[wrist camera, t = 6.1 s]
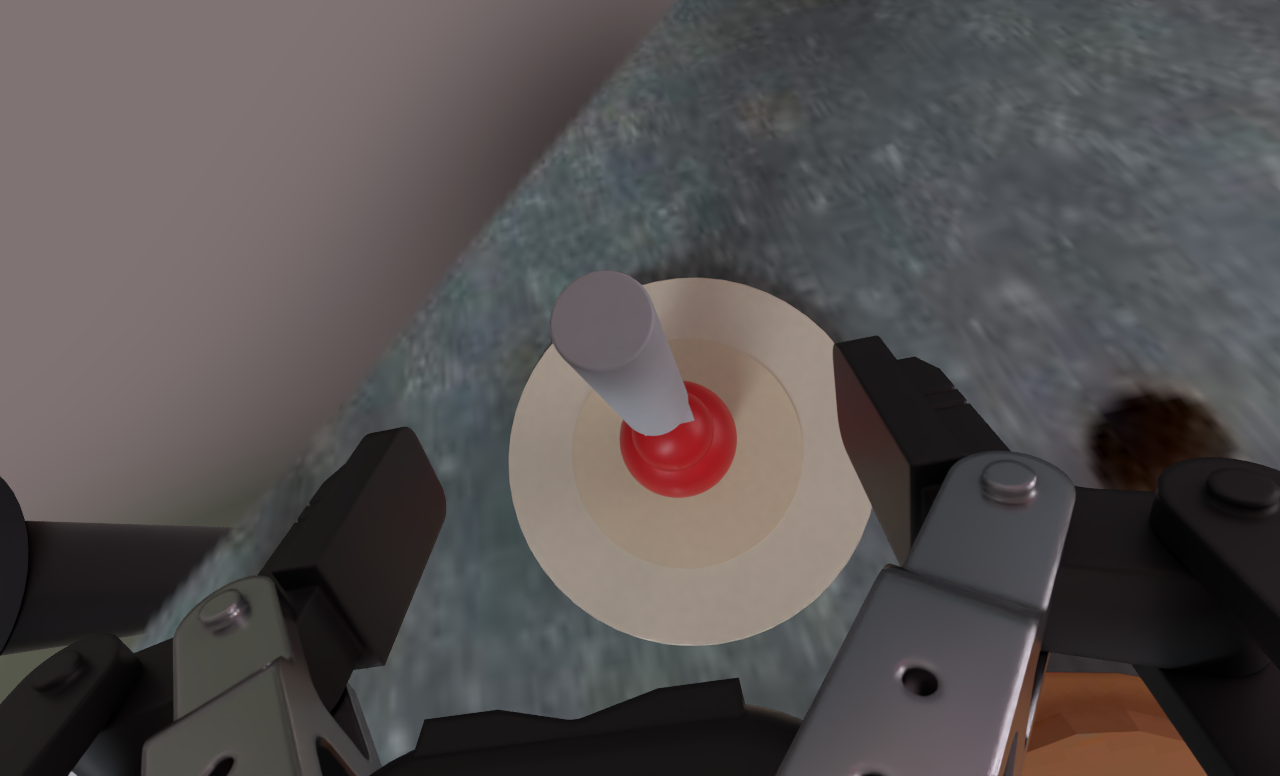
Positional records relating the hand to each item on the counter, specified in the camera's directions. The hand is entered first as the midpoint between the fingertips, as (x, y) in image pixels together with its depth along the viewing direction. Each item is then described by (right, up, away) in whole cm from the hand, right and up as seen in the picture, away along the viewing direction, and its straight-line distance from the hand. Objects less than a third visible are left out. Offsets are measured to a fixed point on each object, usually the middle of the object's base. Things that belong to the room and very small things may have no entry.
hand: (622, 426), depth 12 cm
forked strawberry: (+2, -2, +15) cm, 15 cm away
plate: (+2, -2, +16) cm, 16 cm away
